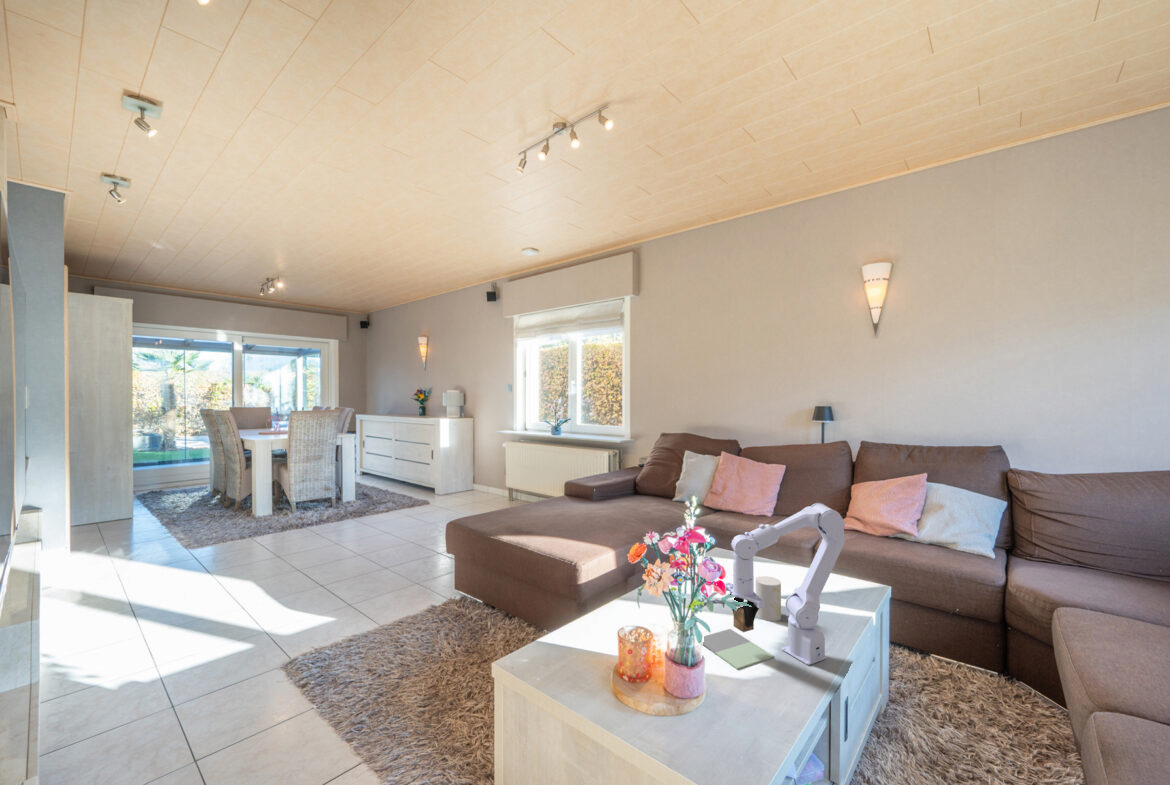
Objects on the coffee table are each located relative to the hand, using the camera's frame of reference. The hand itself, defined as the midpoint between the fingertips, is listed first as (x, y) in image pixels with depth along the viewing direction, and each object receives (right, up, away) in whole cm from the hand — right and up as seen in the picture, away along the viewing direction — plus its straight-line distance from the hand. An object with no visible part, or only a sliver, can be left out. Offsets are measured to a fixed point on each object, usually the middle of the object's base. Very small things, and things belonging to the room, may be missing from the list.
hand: (743, 622), depth 143 cm
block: (0, -2, 0) cm, 2 cm away
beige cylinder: (+16, -9, +23) cm, 29 cm away
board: (-3, -8, +2) cm, 9 cm away
